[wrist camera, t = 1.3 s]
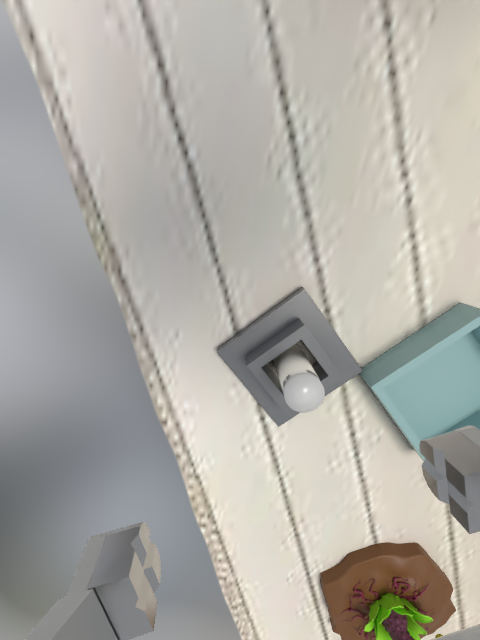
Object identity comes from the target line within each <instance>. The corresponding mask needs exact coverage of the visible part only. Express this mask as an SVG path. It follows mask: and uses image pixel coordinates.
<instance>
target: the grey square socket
mask: <svg viewBox="0 0 480 640" xmlns="http://www.w3.org/2000/svg"><path fill="white" fill-rule="evenodd" d="M300 340H302V341H303V342H304V344H305V345H306V346H307V348H308V349H309V350H310V352H311V353H312V354H313V356H314V357H315V358H316V360H317V361H318V362H317V363H316V364H314V365H313V366H312V367H313V369H314V371H315V373H316V374H317V376H318V378H319V380H320V381H321V383H322V385H323V387H324V391H325V396H326V395H327V394H329V393H330V392H332V391H333V390H335V389H336V388H338V387H339V386H341V385H342V384H344V383H345V382H347V381H348V380H350V379H352V378H353V377H355V376H356V375H358V374H359V373H361V372H362V371H363V370H362V369H361V367H360V366H359V364H358V363H357V362H356V360H355V359H354V357H353V356H352V355H351V353H350V352H349V350H348V349H347V348H346V346H345V345H344V343H343V342H342V341H341V339H340V338H339V336H338V335H337V334H336V332H335V331H334V329H333V328H332V327H331V325H330V324H329V322H328V321H327V320H326V318H325V317H324V315H323V314H322V313H321V311H320V310H319V308H318V307H317V306H316V304H315V303H314V302H313V300H312V299H311V297H310V296H309V295H308V293H307V292H306V290H305V289H304V288H303V287H302V288H300V289H299V290H297V291H296V292H295V293H293V294H292V295H291V296H289V297H288V298H286V299H285V300H284V301H282V302H281V303H280V304H278V305H277V306H275V307H274V308H273V309H271V310H270V311H269V312H267V313H266V314H265V315H263V316H262V317H260V318H259V319H258V320H256V321H255V322H254V323H252V324H251V325H249V326H248V327H247V328H245V329H244V330H243V331H241V332H240V333H238V334H237V335H236V336H234V337H233V338H232V339H230V340H229V341H227V342H226V343H225V344H223V345H222V346H221V347H219V348H218V351H217V353H218V354H219V356H220V357H221V358H222V359H223V360H224V362H225V363H226V364H227V365H228V366H229V368H230V369H231V370H232V371H233V372H234V374H235V375H236V376H237V377H238V378H239V380H240V381H241V382H242V383H243V384H244V386H245V387H246V388H247V389H248V390H249V392H250V393H251V394H252V395H253V397H254V398H255V399H256V400H257V401H258V403H259V404H260V405H261V406H262V407H263V409H264V410H265V411H266V412H267V413H268V415H269V416H270V417H271V418H272V419H273V421H274V422H275V423H276V424H277V425H278V427H279V426H281V425H282V424H284V423H285V422H287V421H288V420H290V419H291V418H293V417H294V416H296V415H297V414H299V413H300V412H297V411H294V410H293V409H291V408H290V407H289V406H288V405H287V403H286V401H285V398H284V394H283V391H282V387H281V384H280V381H279V379H278V377H277V376H276V375H275V374H274V372H273V371H272V370H271V369H270V367H269V366H268V365H267V363H269V362H270V361H271V360H273V359H274V358H276V357H277V356H279V355H280V354H281V353H283V352H284V351H286V350H287V349H289V348H290V347H291V346H293V345H294V344H296V343H297V342H298V341H300Z"/></svg>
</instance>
